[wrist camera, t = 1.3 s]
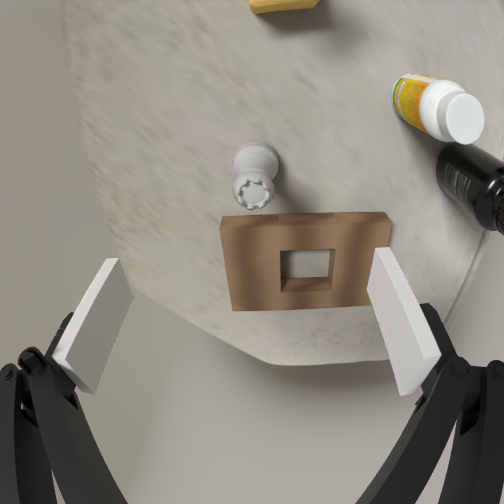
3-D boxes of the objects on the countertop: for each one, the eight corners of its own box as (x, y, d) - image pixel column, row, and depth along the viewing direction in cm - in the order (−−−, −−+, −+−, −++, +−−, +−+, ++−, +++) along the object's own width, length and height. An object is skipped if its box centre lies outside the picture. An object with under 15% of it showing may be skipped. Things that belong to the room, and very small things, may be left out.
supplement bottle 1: (422, 66, 21) (480, 75, 13) (441, 112, 24) (497, 138, 16) (380, 84, 23) (429, 98, 15) (402, 131, 26) (451, 163, 18)
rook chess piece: (244, 188, 30) (238, 228, 24) (225, 150, 28) (212, 180, 21) (285, 173, 29) (291, 210, 23) (268, 133, 27) (269, 158, 20)
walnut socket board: (384, 211, 31) (392, 223, 29) (368, 291, 38) (373, 304, 36) (222, 216, 32) (219, 228, 30) (234, 297, 39) (232, 311, 37)
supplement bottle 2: (460, 202, 29) (515, 261, 20) (424, 178, 28) (483, 237, 18) (486, 156, 26) (551, 204, 16) (451, 127, 24) (524, 169, 15)
